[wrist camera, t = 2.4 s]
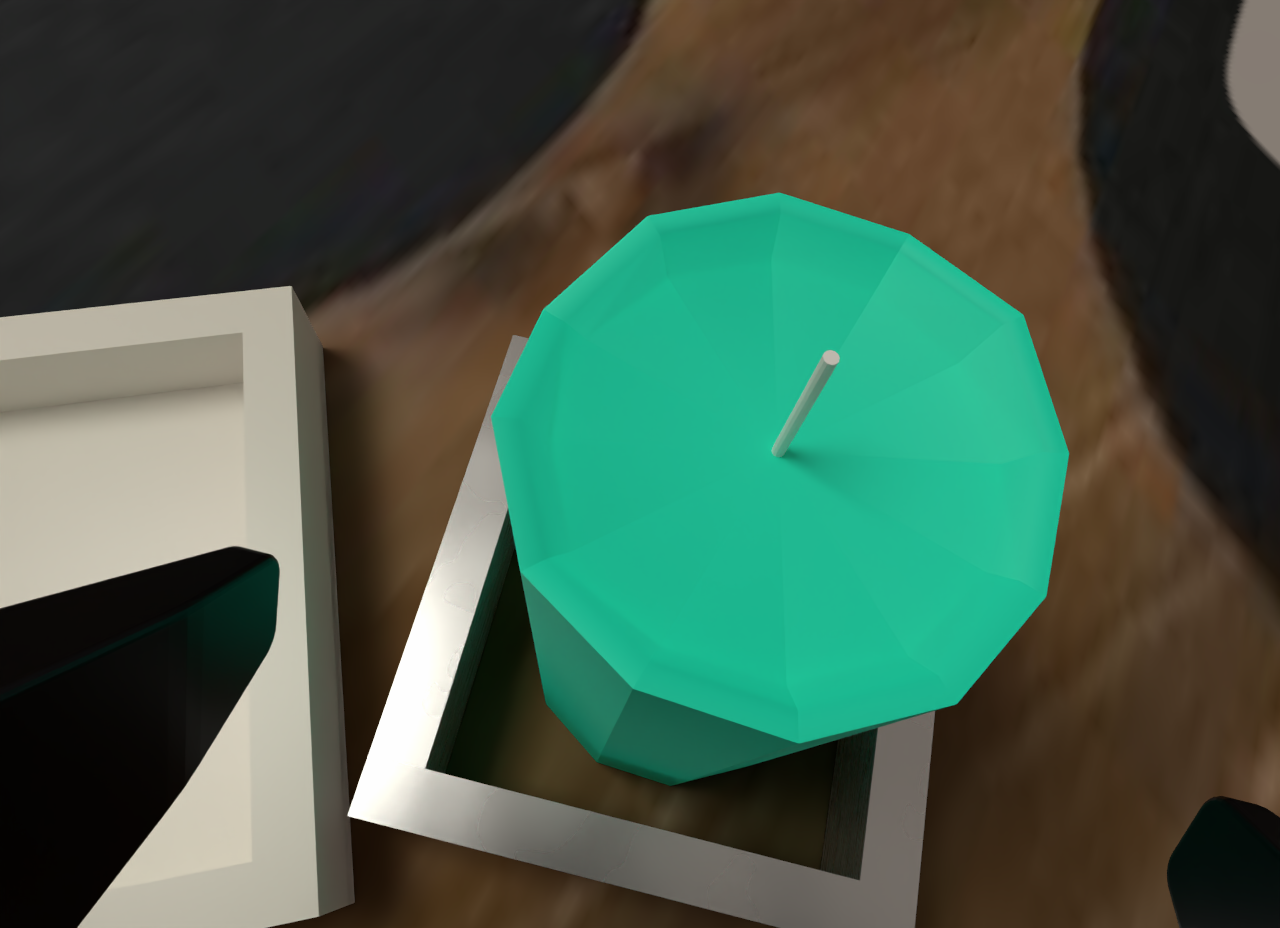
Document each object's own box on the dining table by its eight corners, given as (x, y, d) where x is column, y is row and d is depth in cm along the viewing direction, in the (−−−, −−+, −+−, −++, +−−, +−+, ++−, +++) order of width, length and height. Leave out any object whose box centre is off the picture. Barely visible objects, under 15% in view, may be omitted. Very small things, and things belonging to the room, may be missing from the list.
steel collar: (863, 941, 16) (911, 961, 14) (377, 816, 16) (347, 816, 14) (915, 488, 20) (959, 444, 18) (519, 390, 20) (513, 334, 18)
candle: (721, 463, 20) (911, 20, 9) (863, 696, 18) (1326, 505, 7) (485, 577, 18) (360, 216, 7) (613, 844, 17) (702, 892, 6)
